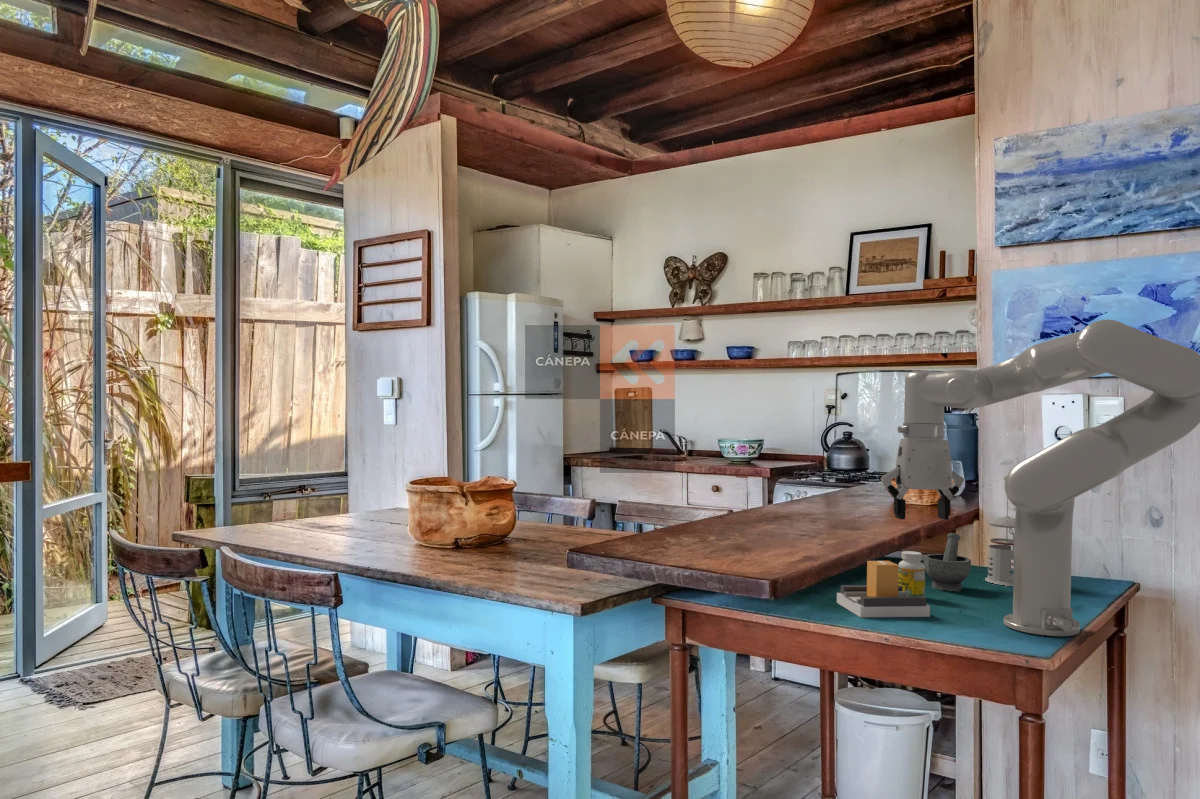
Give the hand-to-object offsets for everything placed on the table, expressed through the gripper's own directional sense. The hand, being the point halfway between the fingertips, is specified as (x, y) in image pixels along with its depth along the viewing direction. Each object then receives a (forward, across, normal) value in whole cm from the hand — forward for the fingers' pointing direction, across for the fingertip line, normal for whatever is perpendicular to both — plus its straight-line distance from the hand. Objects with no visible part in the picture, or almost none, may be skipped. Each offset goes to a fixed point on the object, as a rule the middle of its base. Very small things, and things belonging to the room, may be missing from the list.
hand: (921, 518), depth 173 cm
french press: (+18, +34, +25) cm, 46 cm away
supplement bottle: (+19, +3, +10) cm, 21 cm away
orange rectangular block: (+16, -8, 0) cm, 18 cm away
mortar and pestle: (+19, +16, +19) cm, 31 cm away
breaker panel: (+18, -8, 0) cm, 20 cm away
